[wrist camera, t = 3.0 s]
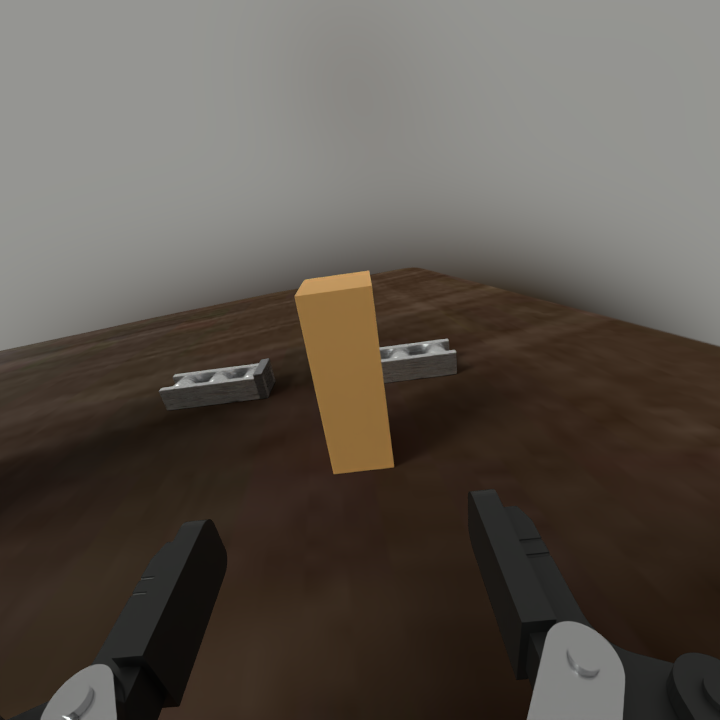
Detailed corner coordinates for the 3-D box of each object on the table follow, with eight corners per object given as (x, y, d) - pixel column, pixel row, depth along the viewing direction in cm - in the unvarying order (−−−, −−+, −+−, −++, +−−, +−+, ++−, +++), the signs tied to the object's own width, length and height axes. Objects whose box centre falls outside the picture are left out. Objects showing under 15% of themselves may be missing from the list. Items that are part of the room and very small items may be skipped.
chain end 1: (167, 410, 34) (157, 387, 33) (182, 392, 37) (174, 371, 36) (268, 397, 34) (261, 373, 33) (275, 380, 37) (269, 358, 36)
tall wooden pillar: (333, 474, 23) (294, 296, 18) (337, 431, 27) (305, 277, 22) (394, 467, 23) (371, 285, 18) (388, 425, 27) (368, 268, 22)
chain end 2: (350, 387, 33) (346, 362, 32) (351, 371, 36) (347, 348, 35) (456, 373, 33) (456, 348, 32) (448, 358, 36) (447, 334, 35)
